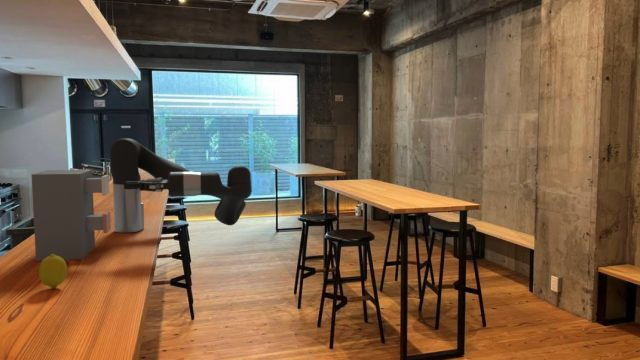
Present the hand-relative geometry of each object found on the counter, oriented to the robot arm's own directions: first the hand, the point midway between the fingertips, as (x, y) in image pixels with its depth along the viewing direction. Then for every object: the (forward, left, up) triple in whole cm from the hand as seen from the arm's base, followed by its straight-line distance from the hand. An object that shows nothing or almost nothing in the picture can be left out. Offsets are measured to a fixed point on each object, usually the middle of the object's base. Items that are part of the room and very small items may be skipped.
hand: (124, 185), depth 137 cm
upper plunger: (+6, -8, -3) cm, 10 cm away
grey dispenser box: (+10, -13, -20) cm, 26 cm away
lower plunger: (+6, -8, -14) cm, 17 cm away
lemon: (+31, +12, -20) cm, 39 cm away
